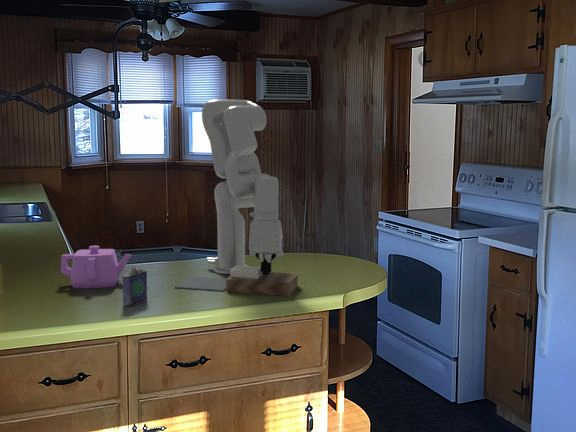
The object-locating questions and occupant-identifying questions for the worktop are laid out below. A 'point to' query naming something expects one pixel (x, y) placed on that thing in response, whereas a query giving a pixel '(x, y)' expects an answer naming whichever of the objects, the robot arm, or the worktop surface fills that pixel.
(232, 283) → the deck
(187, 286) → the mat
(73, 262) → the teakettle
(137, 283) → the flask
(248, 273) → the tile
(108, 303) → the worktop surface
